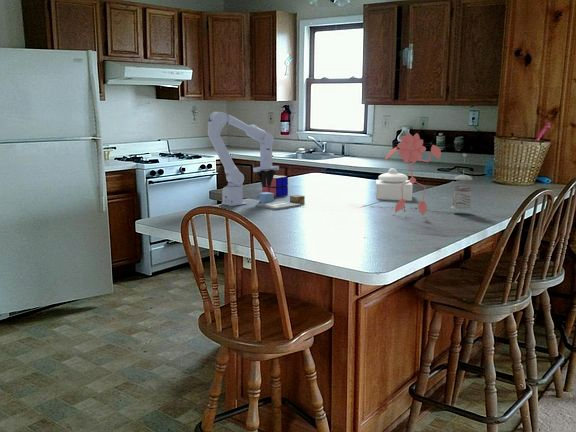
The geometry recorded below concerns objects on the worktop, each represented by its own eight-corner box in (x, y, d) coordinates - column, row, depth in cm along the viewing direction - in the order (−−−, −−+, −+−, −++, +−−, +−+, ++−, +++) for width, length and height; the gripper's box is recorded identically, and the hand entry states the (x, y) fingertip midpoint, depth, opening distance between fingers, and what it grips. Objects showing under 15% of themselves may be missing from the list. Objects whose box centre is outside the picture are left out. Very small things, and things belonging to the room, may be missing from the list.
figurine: (388, 209, 263) (390, 131, 257) (443, 215, 249) (447, 133, 242) (372, 214, 251) (374, 133, 245) (429, 221, 236) (433, 134, 230)
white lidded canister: (409, 196, 302) (410, 166, 299) (412, 202, 284) (413, 170, 281) (375, 196, 304) (376, 165, 301) (375, 201, 287) (376, 169, 284)
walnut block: (296, 205, 276) (296, 197, 275) (289, 203, 279) (289, 195, 279) (304, 204, 279) (304, 196, 278) (298, 202, 282) (298, 194, 282)
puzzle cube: (276, 197, 300) (276, 178, 298) (261, 195, 306) (261, 176, 304) (288, 195, 307) (288, 176, 306) (273, 193, 313) (273, 174, 312)
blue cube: (265, 204, 277) (265, 194, 277) (259, 203, 281) (259, 193, 280) (273, 203, 281) (273, 193, 280) (267, 202, 284) (267, 192, 284)
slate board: (275, 210, 261) (274, 208, 261) (255, 206, 271) (255, 204, 271) (300, 206, 272) (300, 204, 272) (281, 202, 282) (281, 200, 282)
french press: (473, 210, 262) (477, 154, 257) (447, 209, 264) (450, 154, 259) (471, 206, 271) (474, 153, 267) (446, 205, 274) (448, 152, 269)
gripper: (259, 159, 269) (259, 188, 272) (283, 157, 279) (283, 185, 281) (250, 158, 274) (250, 186, 277) (273, 156, 284) (273, 183, 286)
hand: (266, 185), depth 279 cm, fingers open, 3 cm apart
